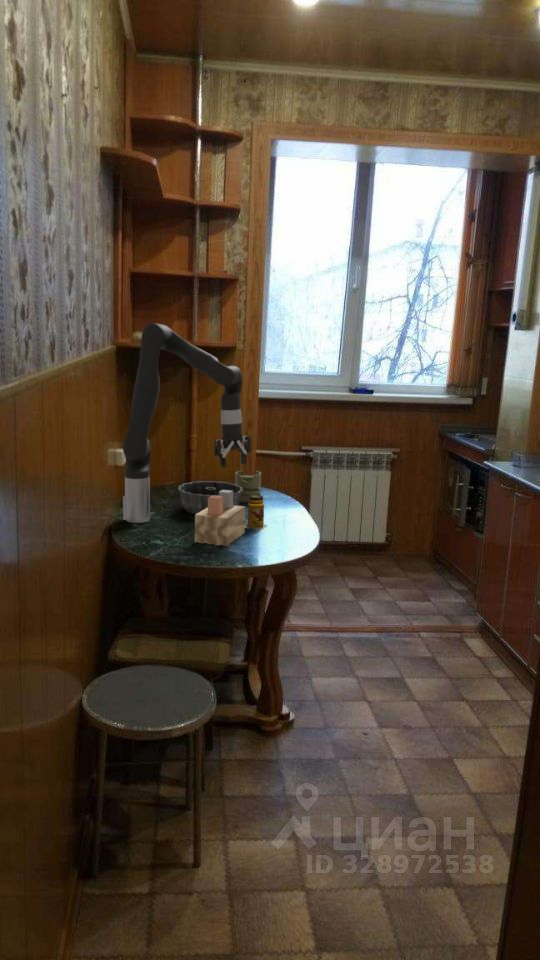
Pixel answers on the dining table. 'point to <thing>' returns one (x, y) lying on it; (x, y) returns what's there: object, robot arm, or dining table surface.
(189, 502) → the bundt pan
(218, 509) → the peg terracotta
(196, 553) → the dining table surface
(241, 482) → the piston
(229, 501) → the peg grey
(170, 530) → the dining table surface
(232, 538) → the oak block
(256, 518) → the condiment
